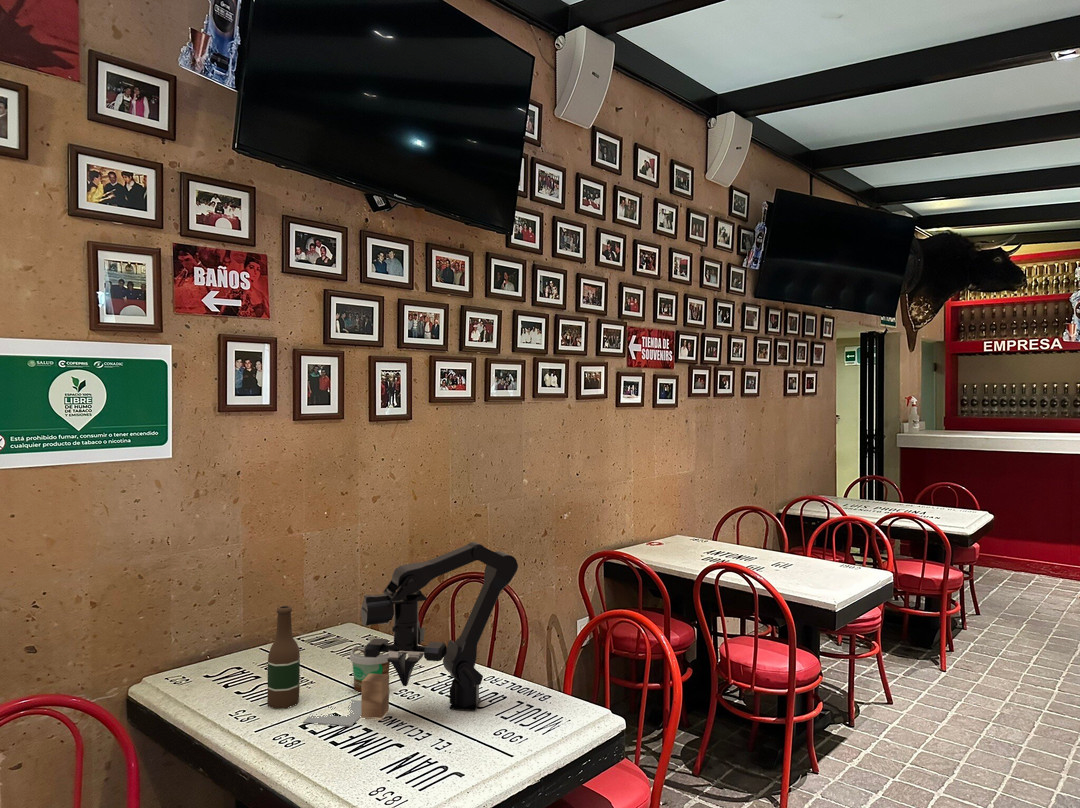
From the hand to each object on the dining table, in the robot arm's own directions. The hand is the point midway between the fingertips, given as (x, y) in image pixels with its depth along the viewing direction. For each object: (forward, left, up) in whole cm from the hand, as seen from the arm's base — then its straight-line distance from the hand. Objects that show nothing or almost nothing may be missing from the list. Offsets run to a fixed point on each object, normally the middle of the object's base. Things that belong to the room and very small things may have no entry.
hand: (405, 685), depth 175 cm
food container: (+15, -14, -8) cm, 22 cm away
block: (+7, 0, -8) cm, 11 cm away
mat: (+16, 0, -8) cm, 18 cm away
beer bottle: (+32, -3, -8) cm, 34 cm away
